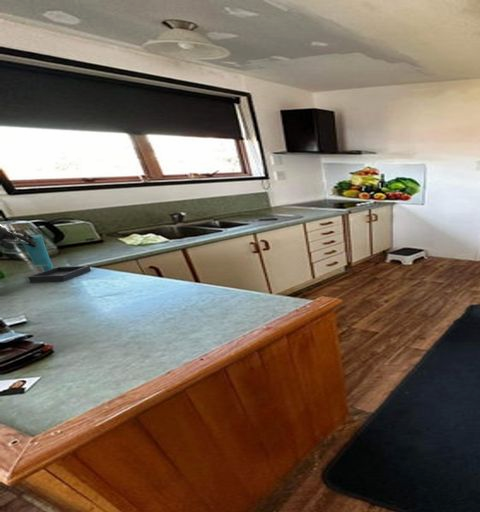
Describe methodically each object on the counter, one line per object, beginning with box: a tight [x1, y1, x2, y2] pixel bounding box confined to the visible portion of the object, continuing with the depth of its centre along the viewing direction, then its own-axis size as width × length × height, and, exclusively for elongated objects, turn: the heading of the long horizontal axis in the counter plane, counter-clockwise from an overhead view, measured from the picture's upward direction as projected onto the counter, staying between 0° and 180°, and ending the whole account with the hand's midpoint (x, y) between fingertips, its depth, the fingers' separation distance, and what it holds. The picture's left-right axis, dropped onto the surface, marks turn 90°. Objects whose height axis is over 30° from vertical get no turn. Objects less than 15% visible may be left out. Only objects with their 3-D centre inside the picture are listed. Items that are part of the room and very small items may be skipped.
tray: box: [27, 265, 92, 283], centre depth 128 cm, size 15×13×3 cm
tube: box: [21, 233, 54, 274], centre depth 128 cm, size 7×5×19 cm, turn 123°
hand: (23, 246), depth 122 cm, fingers open, 8 cm apart
